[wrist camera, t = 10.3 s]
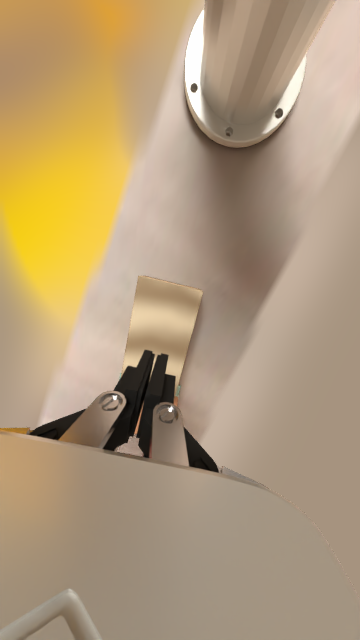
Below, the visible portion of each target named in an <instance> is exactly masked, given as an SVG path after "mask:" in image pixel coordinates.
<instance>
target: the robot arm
mask: <svg viewBox="0 0 360 640" xmlns="http://www.w3.org/2000/svg"><path fill="white" fill-rule="evenodd" d="M335 1H336V0H205V5H204V9H203V11H202V12H201V14H200V16H199V17H198V19H197V20H196V23H195V25H194V27H193V30H192V32H191V34H190V37H189V41H188V45H187V49H186V56H185V65H184V84H185V94H186V99H187V102H188V106H189V109H190V112H191V114H192V116H193V118H194V120H195V122H196V123H197V125H198V126H199V128H200V129H201V130H202V131H203V132H204V133H205V134H206V135H207V136H208V137H209V138H210V139H212V140H213V141H215V142H217V143H218V144H221V145H224V146H227V147H235V148H240V147H248V146H251V145H254V144H256V143H259V142H261V141H262V140H264V139H266V138H267V137H269V136H270V135H271V134H272V133H273V132H274V131H275V130H276V129H277V128H278V127H279V126H280V125H281V123H282V122H283V121H284V120H285V118H286V117H287V115H288V114H289V112H290V110H291V109H292V107H293V106H294V104H295V102H296V100H297V97H298V95H299V93H300V90H301V87H302V84H303V81H304V76H305V70H306V62H307V51H308V49H309V47H310V46H311V44H312V42H313V40H314V39H315V37H316V35H317V33H318V31H319V30H320V28H321V26H322V24H323V22H324V21H325V19H326V17H327V15H328V13H329V12H330V10H331V8H332V6H333V5H334V3H335ZM228 136H229V137H228ZM168 356H169V355H167V354H163V353H161V355H157V358H156V361H155V365H154V368H153V371H152V367H153V362H154V358H155V354H153V351H150V350H144V352H143V354H142V357H141V359H140V361H139V363H138V365H137V367H132V366H127V368H126V370H125V371H124V373H123V375H122V377H121V378H120V380H119V382H118V384H117V385H116V387H115V389H114V391H108V392H104V393H102V394H100V395H99V396H98V397H97V398H96V399H95V400H94V401H93V402H92V403H91V405H90V406H89V407H88V408H87V409H84V410H82V411H79V412H76V413H74V414H71V415H68V416H66V417H63V418H60V419H58V420H55V421H52V422H50V423H47V424H45V425H42V426H40V427H38V428H36V429H35V430H30V428H28V427H27V428H0V640H360V598H359V596H358V594H357V593H356V591H355V589H354V587H353V585H352V584H351V582H350V580H349V578H348V576H347V575H346V573H345V571H344V569H343V568H342V566H341V564H340V562H339V561H338V559H337V557H336V556H335V554H334V552H333V550H332V549H331V547H330V545H329V544H328V542H327V541H326V539H325V538H324V536H323V535H322V533H321V532H320V530H319V529H318V528H317V526H316V525H315V524H314V523H313V521H312V520H311V519H310V518H309V517H308V516H307V515H306V514H305V513H304V512H303V511H302V510H300V509H299V508H298V507H297V506H296V505H294V504H293V503H292V502H290V501H289V500H287V499H286V498H284V497H283V496H281V495H279V494H278V493H276V492H274V491H272V490H270V489H269V488H267V487H266V486H264V485H263V484H261V483H258V482H256V481H254V480H252V479H250V478H248V477H245V476H243V475H241V474H239V473H237V472H234V471H232V470H230V469H228V468H226V467H223V466H222V468H219V467H217V465H216V464H215V462H214V461H213V459H212V458H211V457H210V456H209V455H208V454H207V452H206V451H205V450H204V449H203V448H202V447H201V446H200V445H199V443H198V442H197V441H196V440H195V439H194V438H193V437H192V435H191V434H190V433H189V432H188V431H187V430H186V429H185V428H184V426H183V421H182V414H181V411H180V410H179V408H178V407H177V406H175V405H174V392H175V380H176V376H173V375H169V374H165V373H166V367H167V362H168ZM151 371H152V374H151ZM150 376H151V378H150ZM143 403H144V404H143ZM142 406H143V408H142ZM141 409H142V413H141ZM140 413H141V417H140V422H139V427H138V431H137V436H136V437H137V438H140V439H139V444H138V445H139V447H140V449H141V450H142V452H143V456H142V457H140V456H135V455H130V454H125V453H120V452H117V450H118V447H119V446H120V445H122V444H124V443H127V442H128V439H129V436H132V437H133V436H134V433H135V429H136V426H137V423H138V419H139V416H140Z"/></svg>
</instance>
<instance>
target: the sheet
mask: <svg viewBox="0 0 360 640" xmlns="http://www.w3.org/2000/svg"><path fill="white" fill-rule="evenodd" d="M202 295H203V291H202V290H200V289H197V288H193V287H189V286H185V285H180V284H176V283H172V282H168V281H164V280H160V279H156V278H152V277H148V276H138V281H137V287H136V293H135V298H134V304H133V310H132V315H131V321H130V327H129V333H128V338H127V344H126V350H125V356H124V361H123V367H122V373H121V377H122V375H123V373H124V371H125V370H126V368H127V366H132V367H137V365H138V363H139V361H140V359H141V357H142V354H143V352H144V350H150V351H153V354H155V358H154V362H153V367H152V371H153V368H154V365H155V361H156V358H157V355H161V353H163V354H167V355H169V356H168V362H167V367H166V373H165V374H169V375H173V376H176V380H175V392H174V398H175V395H176V391H177V387H178V383H179V380H180V376H181V372H182V369H183V365H184V361H185V358H186V354H187V350H188V346H189V343H190V339H191V335H192V332H193V328H194V324H195V320H196V317H197V313H198V309H199V306H200V302H201V298H202ZM152 371H151V374H152ZM150 378H151V376H150Z"/></svg>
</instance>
